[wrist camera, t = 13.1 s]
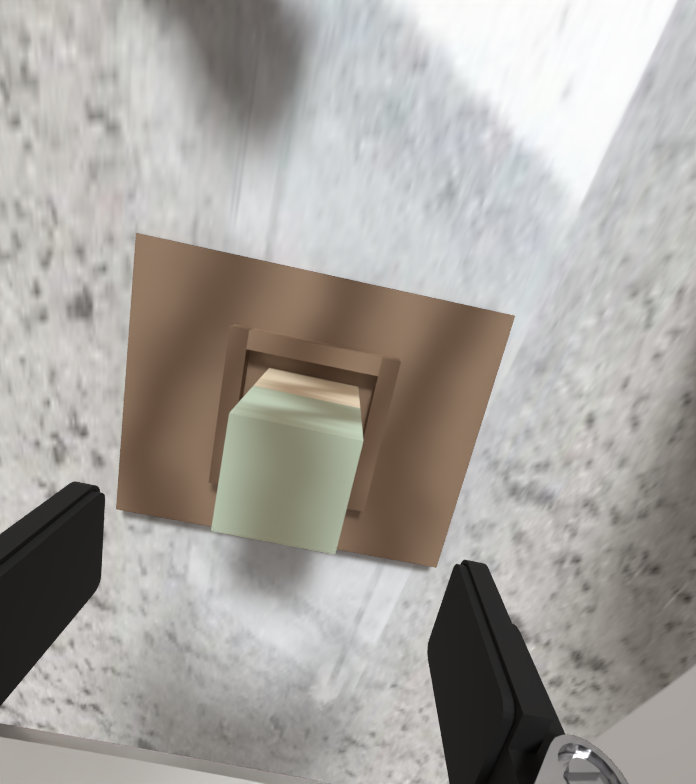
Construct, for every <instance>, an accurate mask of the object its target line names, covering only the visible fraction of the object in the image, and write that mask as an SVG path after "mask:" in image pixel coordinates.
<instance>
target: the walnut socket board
mask: <svg viewBox="0 0 696 784" xmlns="http://www.w3.org/2000/svg"><path fill="white" fill-rule="evenodd" d="M514 318H515V316H513V315H509V314H504V313H500V312H495V311H490V310H486V309H481V308H477V307H472V306H468V305H463V304H458V303H454V302H449V301H445V300H440V299H436V298H431V297H426V296H422V295H417V294H413V293H408V292H404V291H399V290H395V289H390V288H385V287H381V286H376V285H372V284H367V283H363V282H358V281H353V280H349V279H344V278H340V277H335V276H331V275H326V274H321V273H317V272H312V271H308V270H303V269H299V268H294V267H289V266H285V265H280V264H276V263H271V262H267V261H262V260H257V259H253V258H248V257H244V256H239V255H235V254H230V253H225V252H221V251H216V250H212V249H207V248H203V247H198V246H193V245H189V244H184V243H180V242H175V241H171V240H166V239H161V238H157V237H152V236H148V235H143V234H139V233H136V241H135V255H134V269H133V283H132V297H131V310H130V324H129V338H128V352H127V366H126V380H125V393H124V407H123V421H122V435H121V449H120V463H119V476H118V490H117V504H116V509H118V510H123V511H129V512H134V513H140V514H145V515H151V516H156V517H162V518H167V519H173V520H178V521H184V522H189V523H195V524H200V525H206V526H211V527H212V521H213V515H214V508H215V502H216V495H217V489H218V482H219V476H220V469H221V463H222V456H223V450H224V444H225V437H226V431H227V424H228V418H229V413H230V412H231V410H232V409H233V408H234V407H235V406H236V405H237V404H238V402H239V401H240V400H241V399H242V398H243V397H244V396H245V395H246V393H247V392H248V391H249V390H250V389H251V388H252V387H253V386H254V384H255V383H256V382H257V381H258V380H259V379H260V378H261V376H262V375H263V374H264V373H265V372H266V371H267V370H268V369H269V368H274V369H279V370H283V371H288V372H292V373H297V374H302V375H306V376H311V377H316V378H320V379H325V380H330V381H334V382H339V383H344V384H348V385H353V386H357V387H358V389H359V399H360V410H361V420H362V430H363V445H362V449H361V453H360V457H359V461H358V465H357V469H356V473H355V477H354V481H353V485H352V489H351V493H350V497H349V501H348V505H347V509H346V513H345V517H344V521H343V525H342V529H341V533H340V538H339V542H338V546H337V550H343V551H348V552H354V553H359V554H365V555H370V556H376V557H381V558H387V559H392V560H398V561H403V562H409V563H414V564H420V565H425V566H431V567H437V564H438V561H439V557H440V554H441V551H442V548H443V545H444V541H445V538H446V535H447V532H448V529H449V525H450V522H451V519H452V516H453V513H454V509H455V506H456V503H457V500H458V497H459V493H460V490H461V487H462V484H463V481H464V477H465V474H466V471H467V468H468V465H469V462H470V458H471V455H472V452H473V449H474V446H475V442H476V439H477V436H478V433H479V430H480V426H481V423H482V420H483V417H484V414H485V410H486V407H487V404H488V401H489V398H490V394H491V391H492V388H493V385H494V382H495V378H496V375H497V372H498V369H499V366H500V362H501V359H502V356H503V353H504V350H505V346H506V343H507V340H508V337H509V334H510V330H511V327H512V324H513V321H514Z"/></svg>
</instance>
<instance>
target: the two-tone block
mask: <svg viewBox="0 0 696 784" xmlns="http://www.w3.org/2000/svg"><path fill="white" fill-rule="evenodd" d="M362 445H363V430H362V420H361V410H360V399H359V389H358V387H357V386H353V385H348V384H344V383H339V382H334V381H330V380H325V379H320V378H316V377H311V376H306V375H302V374H297V373H292V372H288V371H283V370H279V369H274V368H269V369H268V370H267V371H266V372H265V373H264V374H263V375H262V376H261V378H260V379H259V380H258V381H257V382H256V383H255V384H254V386H253V387H252V388H251V389H250V390H249V391H248V392H247V393H246V395H245V396H244V397H243V398H242V399H241V400H240V401H239V402H238V404H237V405H236V406H235V407H234V408H233V409H232V410H231V412H230V413H229V418H228V424H227V431H226V437H225V444H224V450H223V456H222V463H221V469H220V476H219V482H218V489H217V495H216V502H215V508H214V515H213V521H212V528H211V531H214V532H219V533H224V534H229V535H235V536H240V537H245V538H250V539H256V540H261V541H266V542H271V543H277V544H282V545H287V546H292V547H298V548H303V549H308V550H313V551H318V552H324V553H329V554H334V555H335V554H336V550H337V546H338V542H339V538H340V533H341V529H342V525H343V521H344V517H345V513H346V509H347V505H348V501H349V497H350V493H351V489H352V485H353V481H354V477H355V473H356V469H357V465H358V461H359V457H360V453H361V449H362Z"/></svg>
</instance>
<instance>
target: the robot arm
mask: <svg viewBox="0 0 696 784" xmlns="http://www.w3.org/2000/svg"><path fill="white" fill-rule="evenodd" d="M104 509H105V495H104V494H103V493H100V489H99V487H98V486H95V485H90V484H85V483H80V482H72V483H70V484H69V485H67V486H66V487H64V488H63V489H62V490H60V491H59V492H58V493H56V494H55V495H53V496H52V497H51V498H49V499H48V500H47V501H45V502H44V503H42V504H41V505H40V506H38V507H37V508H36V509H34V510H33V511H31V512H30V513H29V514H27V515H26V516H24V517H23V518H22V519H20V520H19V521H18V522H16V523H15V524H13V525H12V526H11V527H9V528H8V529H7V530H5V531H4V532H2V533H1V534H0V706H1V705H2V703H3V702H4V701H5V700H6V699H7V697H8V696H9V695H10V694H11V693H12V691H13V690H14V689H15V688H16V687H17V685H18V684H19V683H20V682H21V681H22V679H23V678H24V677H25V676H26V675H27V673H28V672H29V671H30V670H31V669H32V667H33V666H34V665H35V664H36V663H37V661H38V660H39V659H40V658H41V657H42V655H43V654H44V653H45V652H46V651H47V649H48V648H49V647H50V646H51V645H52V643H53V642H54V641H55V640H56V639H57V637H58V636H59V635H60V634H61V632H62V631H63V630H64V629H65V628H66V626H67V625H68V624H69V623H70V622H71V620H72V619H73V618H74V617H75V616H76V614H77V613H78V612H79V611H80V610H81V608H82V607H83V606H84V605H85V604H86V602H87V601H88V600H89V599H90V598H91V596H92V595H93V594H94V593H95V591H96V590H97V588H98V586H99V583H100V580H101V568H102V549H103V529H104ZM427 653H428V662H429V667H430V673H431V679H432V685H433V691H434V696H435V702H436V708H437V714H438V719H439V725H440V731H441V737H442V742H443V748H444V754H445V760H446V766H447V771H448V777H449V783H450V784H628V782H627V780H626V779H625V777H624V775H623V774H622V772H621V771H620V770H619V769H618V767H617V766H616V765H615V764H614V763H613V762H612V760H611V759H610V758H609V757H608V756H606V755H605V754H604V753H603V752H602V751H601V750H600V749H599V748H597V747H596V746H594V745H593V744H591V743H590V742H588V741H587V740H584V739H582V738H579V737H577V736H574V735H565V733H564V730H563V728H562V726H561V724H560V721H559V719H558V717H557V715H556V712H555V710H554V708H553V706H552V703H551V701H550V699H549V696H548V694H547V692H546V690H545V687H544V685H543V683H542V681H541V678H540V676H539V674H538V672H537V669H536V667H535V665H534V663H533V660H532V658H531V656H530V653H529V651H528V649H527V647H526V644H525V642H524V640H523V638H522V635H521V633H520V631H519V630H518V628H517V626H515V625H514V624H512V622H511V620H510V617H509V615H508V613H507V610H506V608H505V606H504V603H503V601H502V599H501V596H500V594H499V592H498V590H497V587H496V585H495V583H494V580H493V578H492V576H491V573H490V571H489V569H488V567H487V565H486V564H484V563H479V562H474V561H469V560H463V561H462V563H461V565H460V564H456V565H455V566H454V568H453V571H452V574H451V577H450V580H449V582H448V585H447V588H446V591H445V594H444V597H443V600H442V603H441V606H440V609H439V612H438V615H437V618H436V621H435V624H434V627H433V630H432V633H431V636H430V639H429V642H428V650H427ZM0 784H331V783H326V782H321V781H315V780H310V779H305V778H300V777H294V776H289V775H284V774H278V773H273V772H268V771H262V770H257V769H251V768H246V767H241V766H235V765H230V764H224V763H219V762H213V761H208V760H203V759H197V758H192V757H186V756H181V755H175V754H170V753H164V752H159V751H153V750H148V749H142V748H137V747H131V746H125V745H120V744H114V743H108V742H103V741H97V740H91V739H86V738H80V737H74V736H69V735H63V734H57V733H52V732H46V731H40V730H35V729H29V728H23V727H18V726H12V725H6V724H0Z"/></svg>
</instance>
